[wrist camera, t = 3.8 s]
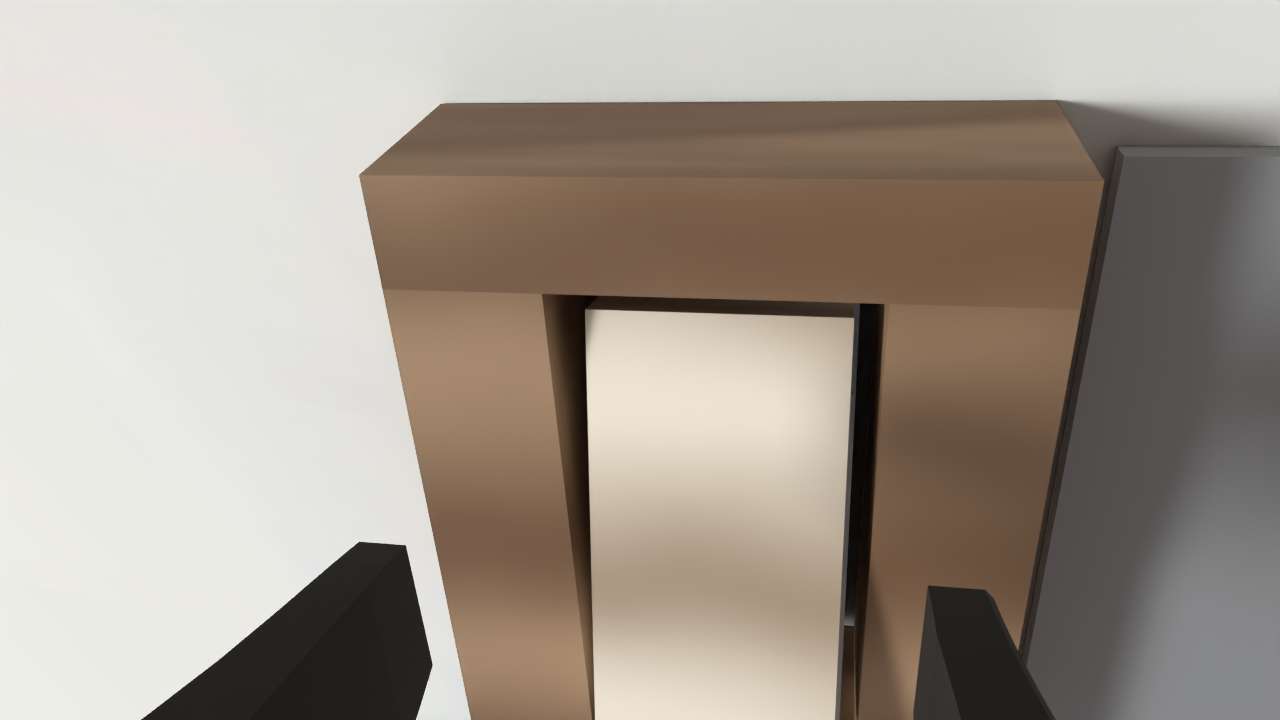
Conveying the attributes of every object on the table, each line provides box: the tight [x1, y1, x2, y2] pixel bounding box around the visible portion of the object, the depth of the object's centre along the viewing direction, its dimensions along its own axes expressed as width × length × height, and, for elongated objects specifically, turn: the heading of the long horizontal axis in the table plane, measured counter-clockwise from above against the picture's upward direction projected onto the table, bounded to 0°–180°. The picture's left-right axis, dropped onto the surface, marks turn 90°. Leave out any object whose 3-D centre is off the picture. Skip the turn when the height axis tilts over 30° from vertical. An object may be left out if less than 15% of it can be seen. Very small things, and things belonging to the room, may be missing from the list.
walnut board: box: [359, 101, 1104, 720], centre depth 20 cm, size 15×11×4 cm
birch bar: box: [585, 296, 854, 720], centre depth 19 cm, size 9×4×2 cm, turn 3°
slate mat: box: [1022, 146, 1280, 720], centre depth 20 cm, size 14×7×1 cm, turn 3°
